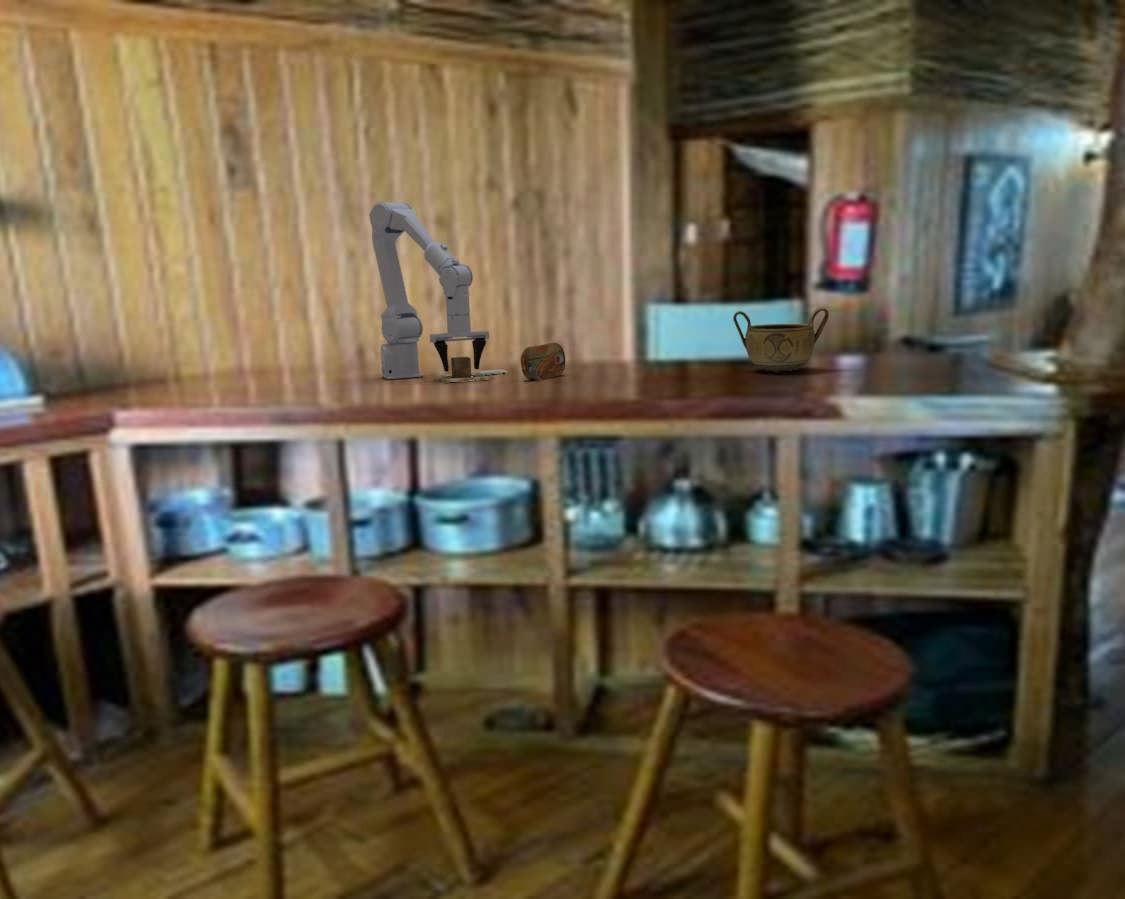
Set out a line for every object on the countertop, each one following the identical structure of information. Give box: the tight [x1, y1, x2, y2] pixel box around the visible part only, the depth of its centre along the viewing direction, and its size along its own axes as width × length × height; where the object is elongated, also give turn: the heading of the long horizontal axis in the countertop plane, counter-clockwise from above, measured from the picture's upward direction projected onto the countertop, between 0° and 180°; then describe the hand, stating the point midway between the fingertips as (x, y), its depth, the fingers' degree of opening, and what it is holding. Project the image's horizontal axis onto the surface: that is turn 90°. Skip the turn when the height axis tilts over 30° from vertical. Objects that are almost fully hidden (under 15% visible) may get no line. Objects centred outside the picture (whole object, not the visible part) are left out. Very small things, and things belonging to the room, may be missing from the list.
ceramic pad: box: [475, 368, 510, 376], centre depth 256 cm, size 7×7×1 cm
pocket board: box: [434, 372, 490, 384], centre depth 245 cm, size 11×12×1 cm
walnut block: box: [450, 356, 472, 379], centre depth 244 cm, size 4×4×6 cm
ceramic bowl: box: [732, 307, 830, 373], centre depth 236 cm, size 22×17×15 cm
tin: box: [520, 342, 566, 381], centre depth 241 cm, size 15×3×8 cm, turn 143°
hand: (461, 370), depth 244 cm, fingers open, 7 cm apart
